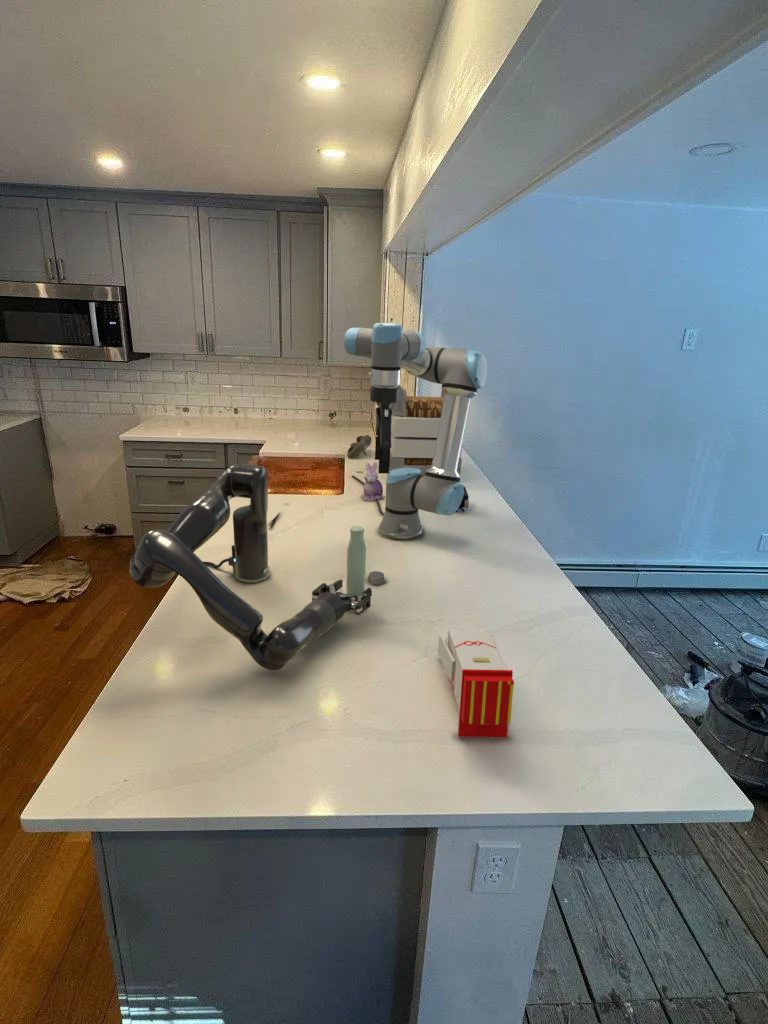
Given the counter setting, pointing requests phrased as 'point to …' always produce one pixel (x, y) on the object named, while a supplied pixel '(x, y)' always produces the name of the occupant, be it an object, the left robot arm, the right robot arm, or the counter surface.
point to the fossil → (359, 446)
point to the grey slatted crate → (415, 430)
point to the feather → (273, 520)
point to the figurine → (372, 484)
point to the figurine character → (464, 501)
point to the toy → (478, 682)
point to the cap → (376, 578)
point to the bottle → (356, 562)
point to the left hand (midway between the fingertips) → (355, 586)
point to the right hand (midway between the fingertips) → (381, 466)
